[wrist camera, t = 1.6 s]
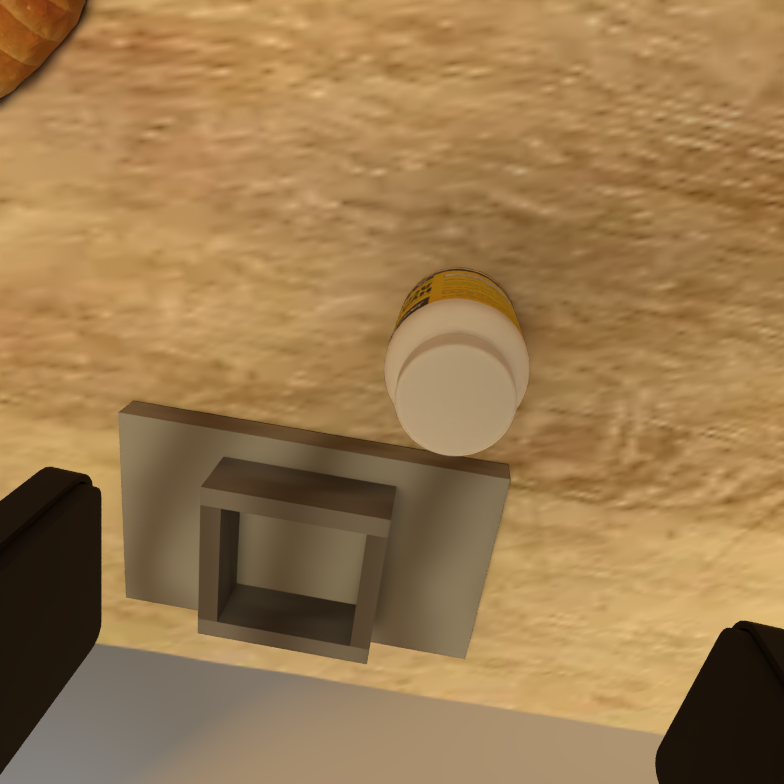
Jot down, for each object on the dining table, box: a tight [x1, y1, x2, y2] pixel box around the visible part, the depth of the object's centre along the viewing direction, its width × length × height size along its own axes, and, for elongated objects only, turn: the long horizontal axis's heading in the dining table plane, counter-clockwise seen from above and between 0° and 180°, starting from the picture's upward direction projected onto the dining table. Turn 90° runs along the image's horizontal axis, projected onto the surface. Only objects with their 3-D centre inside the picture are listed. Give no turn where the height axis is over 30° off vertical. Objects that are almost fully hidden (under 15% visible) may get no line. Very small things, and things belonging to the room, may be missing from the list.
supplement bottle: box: [384, 268, 530, 456], centre depth 24 cm, size 5×5×10 cm
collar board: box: [118, 401, 510, 664], centre depth 31 cm, size 20×12×4 cm, turn 82°
